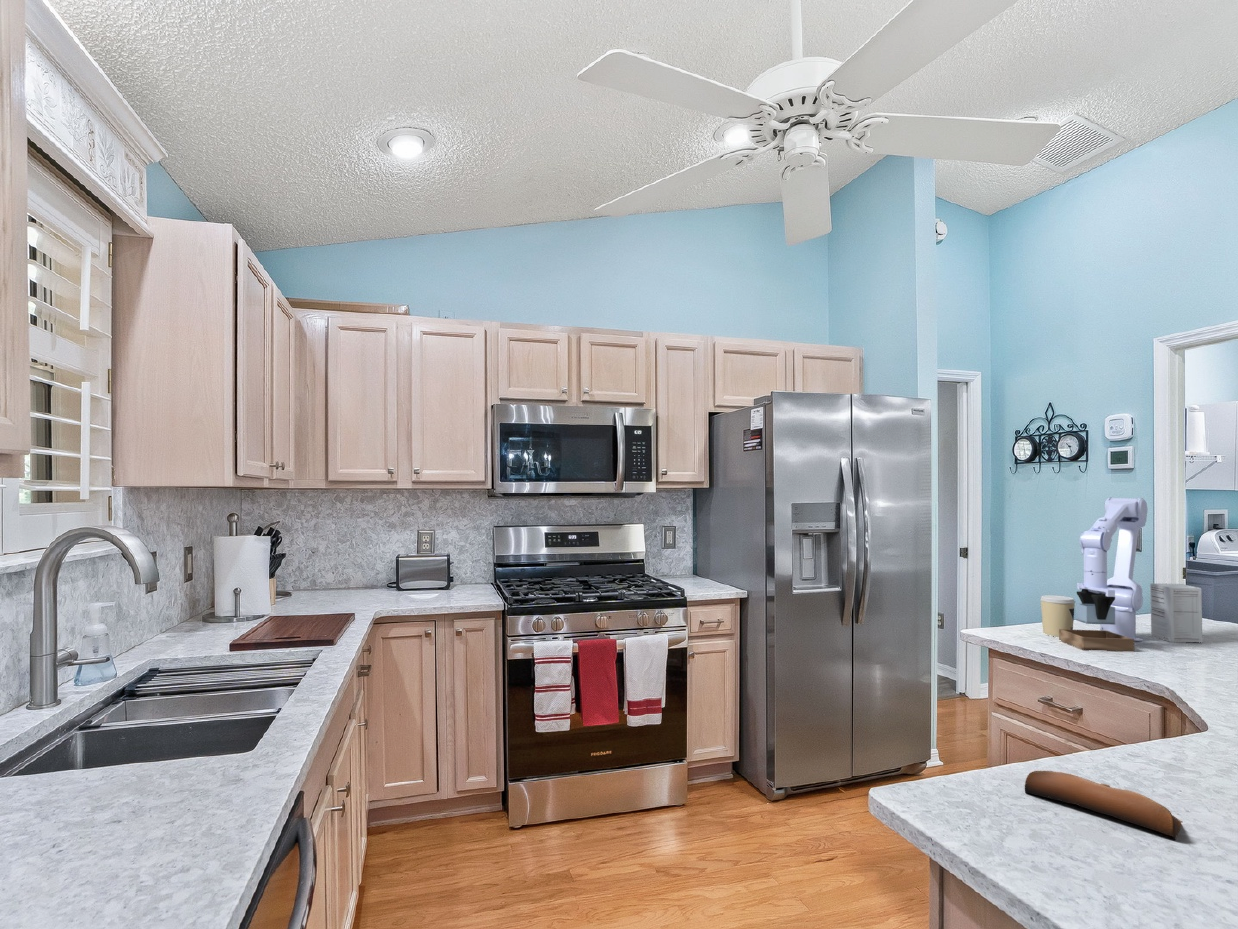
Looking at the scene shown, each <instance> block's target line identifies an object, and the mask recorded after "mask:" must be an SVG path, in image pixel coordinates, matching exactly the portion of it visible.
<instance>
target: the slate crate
mask: <svg viewBox="0 0 1238 929" xmlns="http://www.w3.org/2000/svg"><path fill="white" fill-rule="evenodd" d="M1075 608H1076V609H1075V611H1076V612H1075V613H1076V614H1075V617H1076V618H1075V619H1076V621H1077V622H1080V623H1083V624H1086V625H1091V624H1092V625H1100V624H1115V607H1112V606H1110V608H1109V611H1108V614H1107V618H1106V620H1099V619H1097V616H1096V608H1095V604H1082V603H1075Z"/></svg>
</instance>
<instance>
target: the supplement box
mask: <svg viewBox="0 0 1238 929" xmlns="http://www.w3.org/2000/svg"><path fill="white" fill-rule="evenodd" d="M1149 586H1150V587H1149V588H1150V628H1151V629H1150V630H1151V631H1150V633H1151V635H1150V636H1151V637H1154V638H1156V639H1160V638H1161V640H1163V639H1164V640H1163V641H1167V642H1169V643H1186V642H1199V643H1198V644H1203V604H1202V603H1203V602H1202V601H1203V599H1202V594H1203V593H1202V592H1203V591H1202V588H1201V587H1197V586H1193V585H1187V584H1184V583H1150V585H1149ZM1200 642H1201V643H1200Z"/></svg>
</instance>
